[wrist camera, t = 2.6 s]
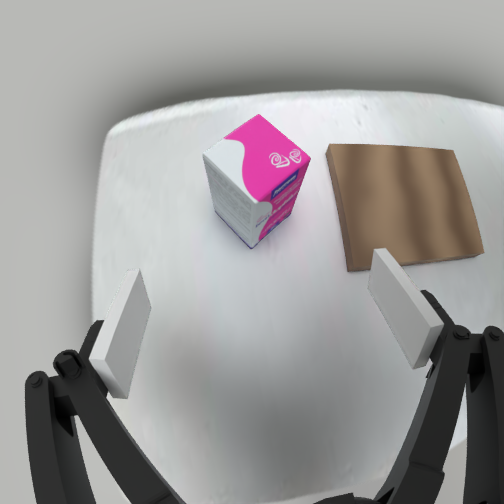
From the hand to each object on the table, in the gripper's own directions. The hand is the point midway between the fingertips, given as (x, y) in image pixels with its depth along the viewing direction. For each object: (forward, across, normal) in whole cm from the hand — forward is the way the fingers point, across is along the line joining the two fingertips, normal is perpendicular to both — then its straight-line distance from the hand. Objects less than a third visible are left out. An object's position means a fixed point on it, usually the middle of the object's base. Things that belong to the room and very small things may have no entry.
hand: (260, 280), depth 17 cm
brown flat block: (+16, +19, -3) cm, 25 cm away
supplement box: (+16, +1, -3) cm, 16 cm away
